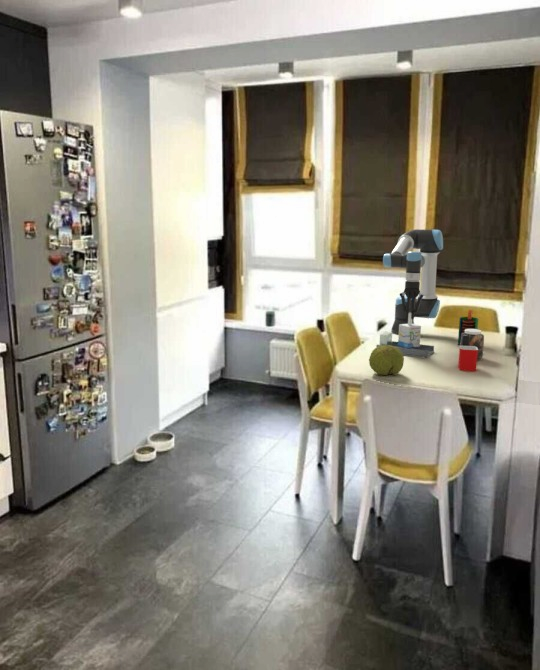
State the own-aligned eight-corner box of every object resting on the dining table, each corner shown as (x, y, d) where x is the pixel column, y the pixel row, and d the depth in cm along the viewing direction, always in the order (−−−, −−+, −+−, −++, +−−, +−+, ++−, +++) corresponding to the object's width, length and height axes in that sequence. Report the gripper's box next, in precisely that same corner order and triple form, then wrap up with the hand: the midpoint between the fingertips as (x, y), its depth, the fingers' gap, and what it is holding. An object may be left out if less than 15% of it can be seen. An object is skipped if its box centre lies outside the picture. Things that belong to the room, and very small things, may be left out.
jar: (455, 358, 301) (457, 330, 298) (464, 354, 310) (466, 327, 306) (477, 362, 293) (479, 333, 290) (486, 358, 302) (488, 330, 299)
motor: (457, 345, 329) (459, 311, 325) (458, 342, 338) (460, 308, 333) (476, 347, 326) (478, 312, 322) (476, 344, 334) (479, 310, 330)
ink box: (407, 348, 307) (409, 326, 305) (397, 345, 314) (398, 324, 312) (420, 346, 311) (421, 325, 308) (409, 343, 318) (410, 322, 316)
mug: (477, 371, 276) (478, 350, 274) (459, 370, 278) (460, 349, 275) (473, 365, 288) (475, 344, 285) (456, 364, 289) (457, 343, 287)
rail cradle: (384, 346, 327) (385, 330, 325) (433, 352, 314) (434, 335, 312) (376, 351, 315) (376, 335, 313) (427, 357, 302) (428, 340, 300)
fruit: (389, 381, 261) (374, 351, 261) (372, 384, 274) (358, 355, 274) (414, 365, 267) (400, 336, 267) (397, 369, 280) (383, 341, 280)
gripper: (398, 280, 306) (395, 324, 310) (422, 282, 299) (420, 326, 304) (402, 279, 312) (400, 322, 317) (426, 281, 306) (423, 324, 310)
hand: (409, 324), depth 310 cm, fingers closed
